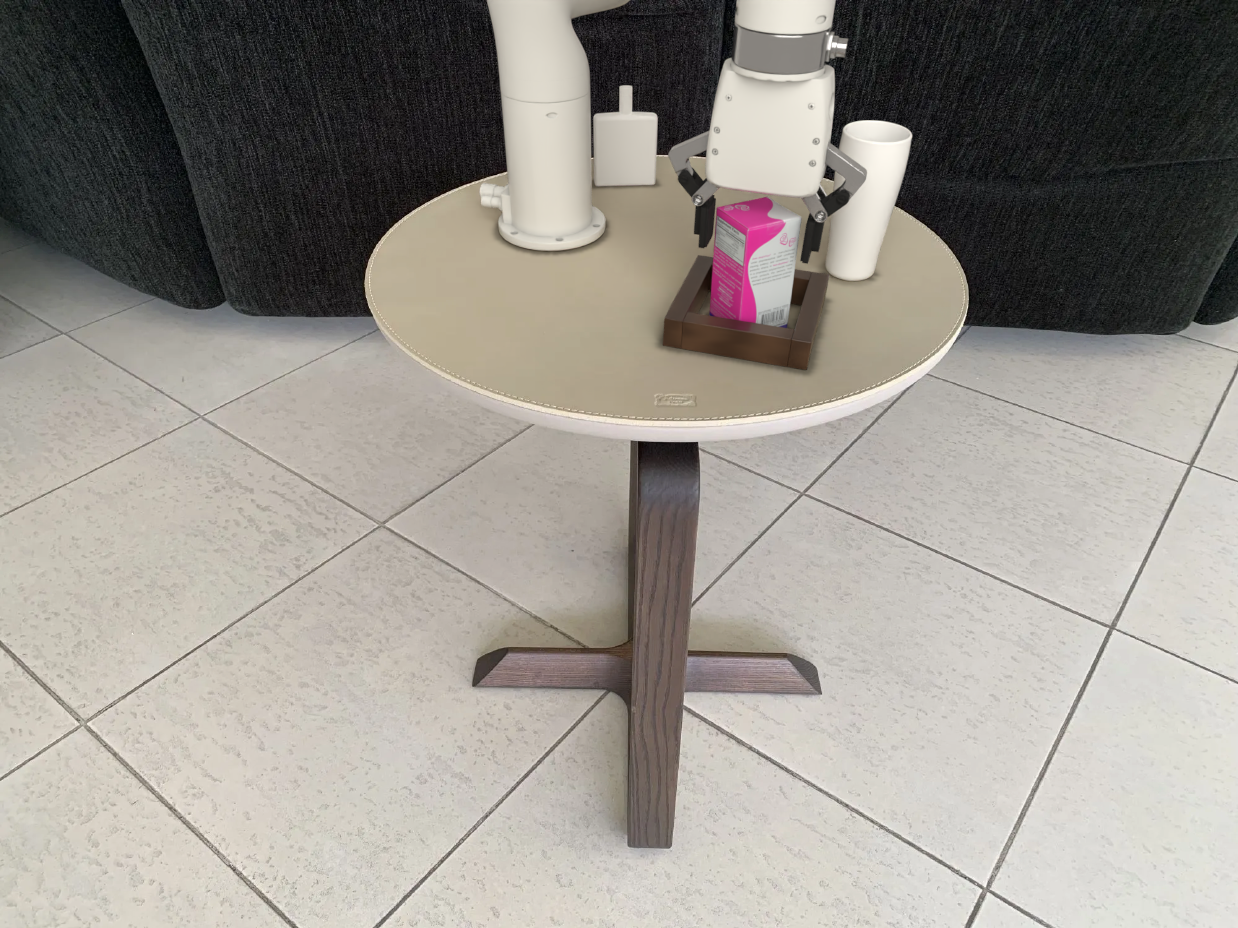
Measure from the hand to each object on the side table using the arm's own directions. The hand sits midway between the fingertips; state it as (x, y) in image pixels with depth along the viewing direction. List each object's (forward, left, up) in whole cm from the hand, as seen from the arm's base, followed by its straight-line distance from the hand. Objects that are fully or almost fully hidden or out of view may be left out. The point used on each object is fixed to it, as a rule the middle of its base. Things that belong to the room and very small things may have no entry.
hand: (755, 249), depth 77 cm
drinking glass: (+9, +14, -8) cm, 18 cm away
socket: (0, 0, -8) cm, 8 cm away
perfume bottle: (-22, +30, -8) cm, 38 cm away
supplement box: (0, 0, -8) cm, 8 cm away
